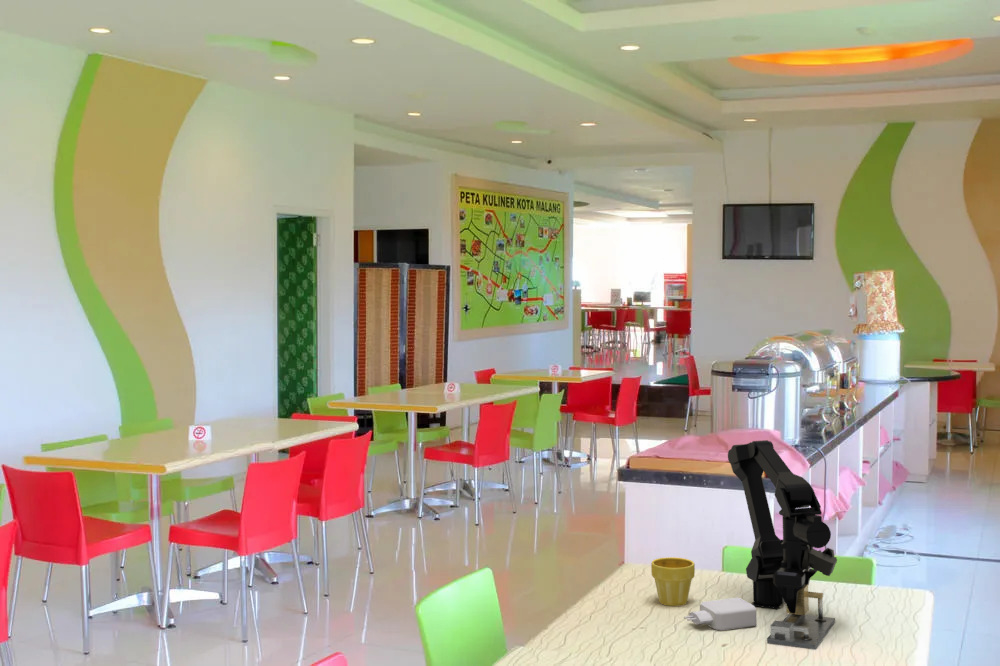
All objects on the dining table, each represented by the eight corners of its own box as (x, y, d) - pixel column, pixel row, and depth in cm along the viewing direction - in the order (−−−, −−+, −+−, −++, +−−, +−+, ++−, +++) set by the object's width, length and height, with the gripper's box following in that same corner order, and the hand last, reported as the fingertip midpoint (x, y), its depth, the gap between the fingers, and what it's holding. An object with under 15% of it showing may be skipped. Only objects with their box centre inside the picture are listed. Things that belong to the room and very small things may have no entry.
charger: (676, 623, 239) (736, 616, 243) (695, 635, 230) (757, 627, 234) (676, 603, 239) (736, 595, 243) (694, 614, 230) (756, 606, 234)
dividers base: (767, 643, 223) (766, 626, 223) (789, 617, 241) (789, 601, 241) (815, 649, 218) (815, 632, 218) (835, 622, 236) (834, 606, 236)
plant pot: (703, 605, 252) (702, 564, 252) (666, 610, 248) (665, 569, 248) (681, 594, 262) (680, 555, 261) (644, 599, 258) (643, 560, 258)
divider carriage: (786, 617, 236) (785, 586, 236) (790, 612, 239) (790, 582, 239) (821, 621, 232) (820, 590, 232) (824, 616, 236) (824, 585, 236)
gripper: (824, 550, 224) (825, 623, 225) (841, 532, 241) (842, 600, 241) (771, 546, 230) (773, 617, 230) (792, 528, 246) (793, 595, 246)
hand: (797, 607), depth 237 cm, fingers open, 9 cm apart
